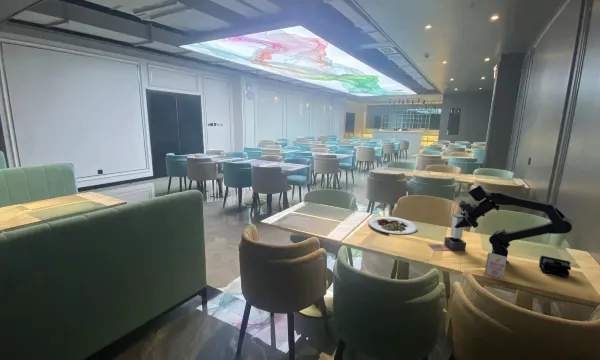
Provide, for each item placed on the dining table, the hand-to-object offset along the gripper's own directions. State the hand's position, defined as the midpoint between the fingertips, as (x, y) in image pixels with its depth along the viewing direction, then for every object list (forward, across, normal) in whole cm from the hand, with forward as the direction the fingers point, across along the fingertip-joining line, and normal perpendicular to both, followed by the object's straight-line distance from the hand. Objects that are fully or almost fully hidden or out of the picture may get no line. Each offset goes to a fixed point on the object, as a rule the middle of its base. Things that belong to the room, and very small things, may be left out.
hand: (454, 225), depth 150 cm
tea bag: (-1, +21, +20) cm, 30 cm away
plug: (+3, 0, +5) cm, 6 cm away
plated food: (+33, -20, -13) cm, 40 cm away
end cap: (-20, +7, +39) cm, 45 cm away
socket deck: (+12, +2, +8) cm, 14 cm away
